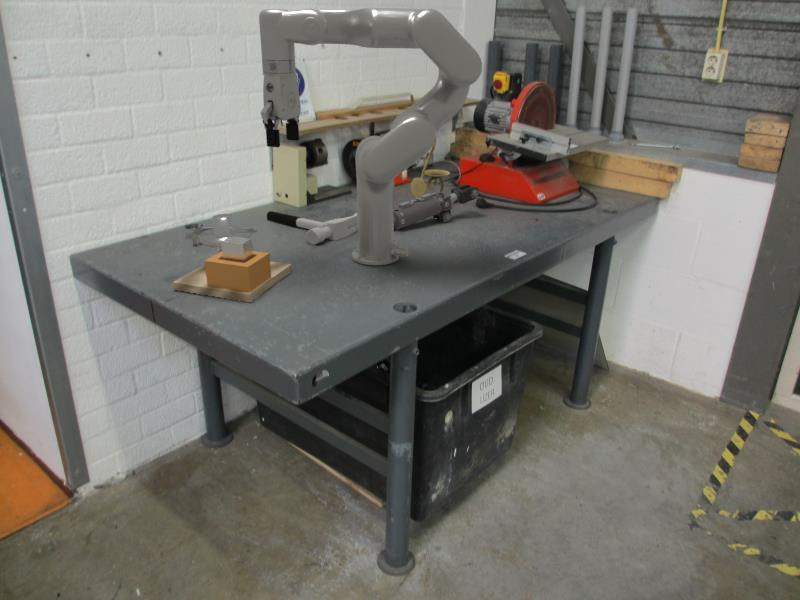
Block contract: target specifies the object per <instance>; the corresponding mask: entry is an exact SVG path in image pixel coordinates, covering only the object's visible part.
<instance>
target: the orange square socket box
mask: <svg viewBox="0 0 800 600" xmlns="http://www.w3.org/2000/svg"><path fill="white" fill-rule="evenodd" d="M234 221H235V220H234V215H232V214H229V213H222V214H221V213H220V214H216V215H213V216H212V224H213V226H212V227H214V229H209V230H206V231H204V232H202V233H201V234H200V235H198V241H199V240H200V243H201V244H202V245H203V246H206V247H211V248H215V251H216V252H215V254H214V255H213V256H211V257H209V258H207V259H205V260H204V264H203V265H201V266H199V267H198V268H196V269H194V270H192V271H191V272H189V273H186V274H184V275H183V276H182V277H180V278H178V279H175V280H174V281H173V282H172V288H173V291H175V290H177V291H176V292H181V291H184V292H183V293H187V292H190V293H189V294H193V293H196V294H195V295H199V294H203V295H202V296H205V295H208V296H207V297H212V296H215V297H214V298H218V297H220V298H219V299H224V298H226V299H225V300H230V299H233V300H232V301H236V300H240V301H239V302H242V301H245V302H244V303H249V302H250V303H252V302H253V301H255V300H256V299H257V298H259V297H260V296H261V295H262V294H264V293H265V292H267V291H268V290H269V289H271V288H272V287H274V286H275V285H276V284H277V283H279V282H280V281H282V280H283V279H285V278H286V277H287V276H288V275H290V274H291V273H293V272H292V271H293V270H292V269H293V268H292V264H290V263H283V262H277V261H271V256H270V254H271V253H270V252H264V251H256V250H253V258H252V259H250V260H248V261H247V262H245V263H242V262H235V261H228V260H223V257H222V248H221V241H223V240H225V239H226V238H228V237H230V236H232V237H241V238H249V239H251V233H250V232H249V231H248V230H246V229H244V228H245V227H239V226H237V227H236V226H235V223H234Z"/></svg>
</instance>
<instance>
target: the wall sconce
mask: <svg viewBox="0 0 800 600" xmlns="http://www.w3.org/2000/svg"><path fill="white" fill-rule="evenodd" d="M436 145H437V137H436V138H435V142H434V144H433V146H432V147H431V149H430V150H429V153H428V156H427V157H426V159H425V162H424V165H423V167H422V171H421V176H420V177H414V178H413V179H412V181H411V183H410V190H411V193H412V194H413V196H414V197H415V198H421V196H423V195H426V194H427V190H428V191H429V192H431V191H434V190H435V187H434V186H437V183H438V181H437V180H439V181H440V190H439V193H440V192H443V193H444V180H443V177H447V176H449V175H450V174H451V173H450V171H448V170H445V169H427V166H428V165H429V162H430V160H431V157H432V156H433V153H434V151H435V148H436ZM425 176H426V177H427V176H428V177H430V178H429V180H428V182H427V184H426V181H424V179H425ZM433 180H434V181H433ZM432 181H433V183H432ZM431 183H432V184H433V187H431Z"/></svg>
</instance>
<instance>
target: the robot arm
mask: <svg viewBox="0 0 800 600" xmlns="http://www.w3.org/2000/svg"><path fill="white" fill-rule="evenodd" d="M258 19H259V20H258V22H259V36H260V50H261V62H262V63H261V65H262V68H261V69H262V75H263V87H262V89H263V91H262V92H263V93H262V94H263V97H262V98H263V108H262V109H261V110H260V115H261V119H262V123H263V125H264V126H263V127H264V130H265V134H266V135H265V136H266V138H265V139H266V147H270V148H280V147H281V137H280V129H278V127H279V123H280V122H281V121H283V122H284V121H286V123H285V134H286V136H285V137H286V140H287V141H299V140H300V129H299V123H300V119H299V118H300V116H301V100H300V89H299V84H298V78H297V71H296V51H295V44H300V45H304V46H305V45H306V46H317V45H322V44H324V45H326V44H327V45H351V46H358V47H361V48H368V49H415V50H416V49H420V50H422V52H423V53H424V54H425V55H426V56H427V57H428V59H429V60H431V62H432V63H433V64H434V65H435V66H436V67H437V69H438V77H437V80H436V82H435V83H434V86H433V87H431V89H430V90H429V91H428V92H427V93H425V94H424V95H423V96H422V97H421V98H419V99H418V100H417V101H415V102H414V103H413V104H412V105H411V106H409V107H407V108H406V109H405V110H404V111H402V112H401V113H399V114H398V115H397V116H396V117H395V118H394V120H393V122H392V124H391V129H390V130H389V131H388V132H386V133H385V134H384V135H383V136H380V135H371V136H370V135H369V136H368V137H365V138H364V139H363V140H361V141H360V142H359V144H358V146H357V148H356V152H355V173H356V174H355V175H356V213H357V221H356V222H357V231H356V232H357V233H356V234H357V248H356V249H354V250H353V251H352V253H351V258H352V261H354V262H355V263H358V264H361V265H365V266H386V265H390V264H393V263H396V262H397V261H398V260H399V259H400V257H406V258H407V257H408V256H409V249H408V248H407V246H399V245H398V240H395V239H394V235H395V234H394V233H395V232H394V230H395V229H394V210H395V178H396V177H398V176H399V175H400V174H402V173H403V172H405V171H406V170H407V169H408V168H410V167H411V166H413V165H414V164H415V163H416V162H418V161H419V160H421V158H423V157H424V156H425V155H426V154H428V152H430V151H431V149H432V146H433V144H434V142H435V138H436V139H437V131H438V130H440V129H441V128H442V127H444V125H446V124H447V123H448V122H449V121H451V120H452V119H453V118H454V117H455V116H456V115H457V114H458V113H459V112H460V110H461V109H462V108H463V106H464V105H465V102H466V101H467V98H468V95H469V92H470V88H471V85H474V83H476V82H477V81H478V80H479V79H480V76H481V74H482V71H483V61H482V58H481V56H480V54H479V52H477V50H476V49H475V48H474V47H473V46H472V45H471V44H470V43H469V42H468V40H467V39H466V38H465V37H464V36H463V35H462V33H460V32H459V31H458V30H457V29H456V28H455V26H453V24H452V23H451V22H450V20H449V19H447V18H446V16H445V15H443V13H441V12H440V11H439V10H436V9H433V8H398V7H397V8H392V7H391V8H390V7H387V8H386V7H366V8H363V7H362V8H360V9H349V10H348V9H338V10H337V9H314V8H305V9H300V10H299V9H298V10H288V9H280V8H279V9H278V8H277V9H275V8H273V9H272V8H271V9H270V8H269V9H263V10H261V11H260V12H259V15H258ZM280 120H281V121H280Z"/></svg>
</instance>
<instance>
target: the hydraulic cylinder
mask: <svg viewBox="0 0 800 600" xmlns="http://www.w3.org/2000/svg"><path fill="white" fill-rule="evenodd" d="M479 195H480V189H479V188H478V187H477V186H471V185H470V184H466V183H465V184H462V185H459V186H456V187H453V188H450V194H448V193H444V191H443V192H440V191H439V192H438V193H437V191H434V192H433V193H426V194H425V195H423V196H421V198H418V197H415V198H414V199H411V200H410V201H404V202H402V203H399V204H398V208H396V209H394V228H395V229H394V230H396V229H397V230H400V229H402V228H406V227H408V226H411V225H413V224H415V223H418V222H421V221H423V220H427V219H428V218H431V217H432V218H433V219H435V218H440V219H439V220H440V221H441V222H443V221H448V222H449V221H450V220H451V219H454V217H453V214H452V209H453V207H452V204H462V205H464V204H466V203H468V202H472V201H474V200H476V199H478V197H479Z"/></svg>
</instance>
